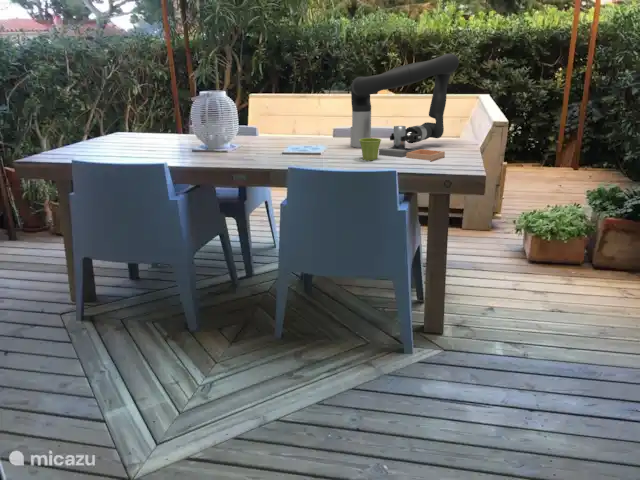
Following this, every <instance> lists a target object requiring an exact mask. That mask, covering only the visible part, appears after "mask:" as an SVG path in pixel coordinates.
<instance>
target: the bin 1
mask: <svg viewBox="0 0 640 480" xmlns="http://www.w3.org/2000/svg"><path fill="white" fill-rule="evenodd" d="M415 150H417V148H412V147H411V148H410V147H405V150H401V149H393V146H389V147H382V148H381V147H379V150H378V156H388V157H397V158H404V157H405V158H406V153H408V152H412V151H415Z"/></svg>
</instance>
